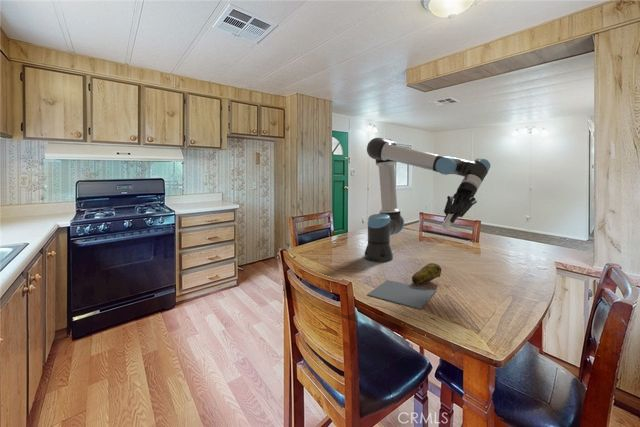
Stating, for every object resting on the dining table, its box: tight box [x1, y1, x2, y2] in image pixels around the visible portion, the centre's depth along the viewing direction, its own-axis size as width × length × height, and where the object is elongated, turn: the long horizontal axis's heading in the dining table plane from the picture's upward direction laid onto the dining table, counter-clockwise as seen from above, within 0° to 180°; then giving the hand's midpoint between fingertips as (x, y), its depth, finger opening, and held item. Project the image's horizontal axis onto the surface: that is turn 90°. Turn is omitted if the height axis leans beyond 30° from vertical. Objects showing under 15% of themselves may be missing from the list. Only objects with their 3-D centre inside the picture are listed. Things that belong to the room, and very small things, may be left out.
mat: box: [366, 279, 437, 310], centre depth 108 cm, size 20×18×1 cm
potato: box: [411, 262, 442, 285], centre depth 118 cm, size 8×13×8 cm, turn 92°
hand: (444, 227), depth 122 cm, fingers closed
